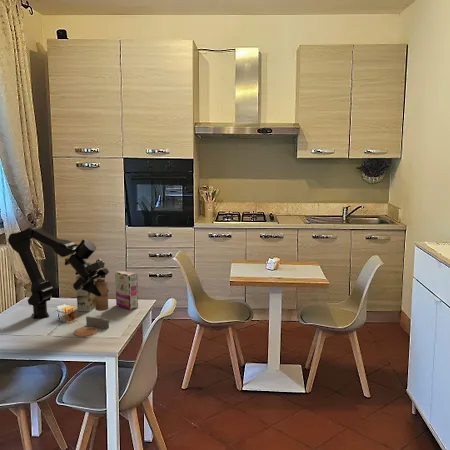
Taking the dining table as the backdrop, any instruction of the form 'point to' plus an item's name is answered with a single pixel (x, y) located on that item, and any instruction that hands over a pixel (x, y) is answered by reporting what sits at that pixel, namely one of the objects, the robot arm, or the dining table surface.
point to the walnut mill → (101, 301)
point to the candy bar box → (126, 289)
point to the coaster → (85, 331)
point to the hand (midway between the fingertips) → (104, 294)
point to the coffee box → (85, 299)
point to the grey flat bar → (97, 322)
